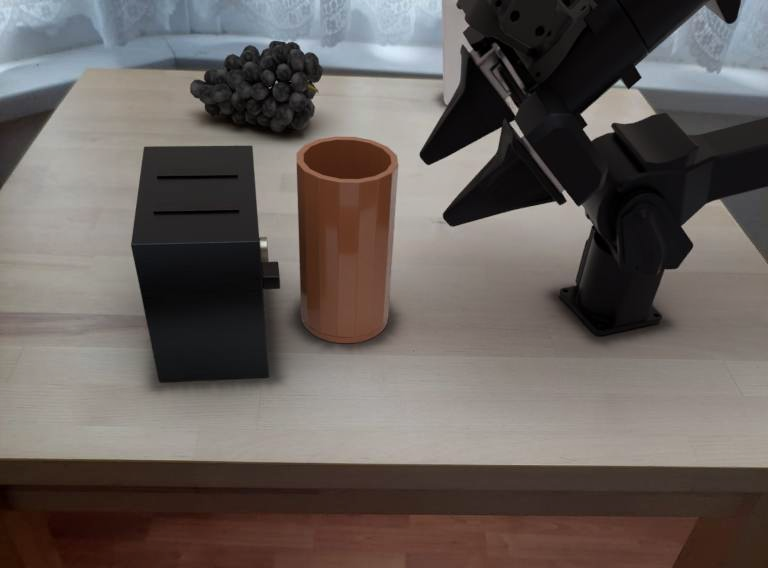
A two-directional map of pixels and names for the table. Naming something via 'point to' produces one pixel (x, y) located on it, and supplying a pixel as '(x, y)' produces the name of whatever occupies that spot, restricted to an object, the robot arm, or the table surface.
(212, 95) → the fruit
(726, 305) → the table surface
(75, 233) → the table surface
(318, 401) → the table surface
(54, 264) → the table surface
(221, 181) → the toaster
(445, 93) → the foam cup
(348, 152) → the brown cylindrical vase
